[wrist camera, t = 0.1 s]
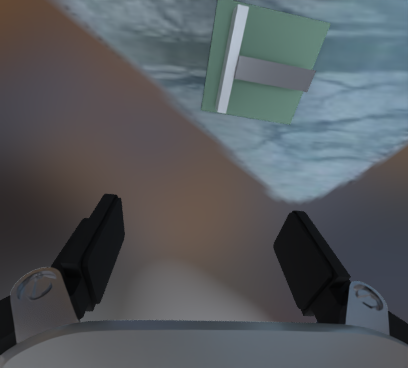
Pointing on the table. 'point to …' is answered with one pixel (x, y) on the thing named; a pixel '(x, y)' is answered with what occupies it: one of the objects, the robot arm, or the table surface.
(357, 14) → the table surface
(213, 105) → the mat
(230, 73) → the scraper
